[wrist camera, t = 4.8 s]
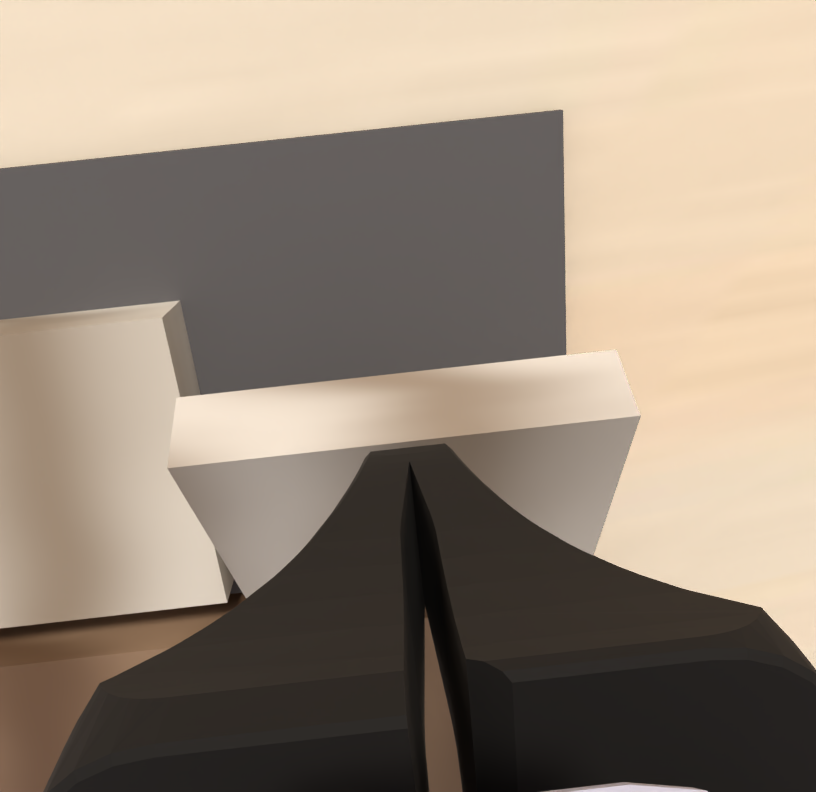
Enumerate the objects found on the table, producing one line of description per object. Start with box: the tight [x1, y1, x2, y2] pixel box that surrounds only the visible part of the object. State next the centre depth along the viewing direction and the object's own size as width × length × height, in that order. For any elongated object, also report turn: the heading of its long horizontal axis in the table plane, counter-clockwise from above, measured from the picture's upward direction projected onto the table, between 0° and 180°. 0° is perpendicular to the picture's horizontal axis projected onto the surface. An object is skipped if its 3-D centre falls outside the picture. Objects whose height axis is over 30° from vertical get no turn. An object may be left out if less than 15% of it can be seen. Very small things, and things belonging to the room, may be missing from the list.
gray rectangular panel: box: [0, 110, 566, 594], centre depth 17 cm, size 17×11×1 cm, turn 96°
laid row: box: [0, 593, 462, 792], centre depth 20 cm, size 17×7×2 cm, turn 96°
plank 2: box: [167, 349, 641, 598], centre depth 15 cm, size 8×7×2 cm
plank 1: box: [0, 301, 234, 628], centre depth 16 cm, size 8×7×2 cm
